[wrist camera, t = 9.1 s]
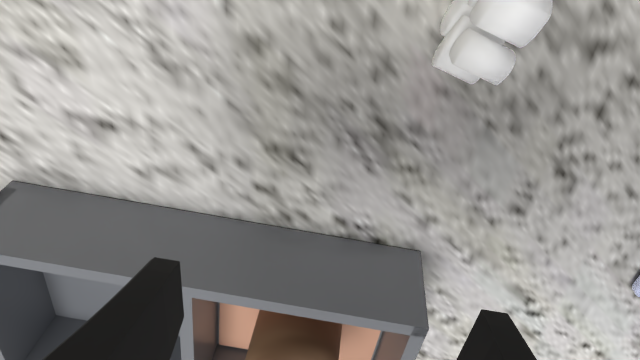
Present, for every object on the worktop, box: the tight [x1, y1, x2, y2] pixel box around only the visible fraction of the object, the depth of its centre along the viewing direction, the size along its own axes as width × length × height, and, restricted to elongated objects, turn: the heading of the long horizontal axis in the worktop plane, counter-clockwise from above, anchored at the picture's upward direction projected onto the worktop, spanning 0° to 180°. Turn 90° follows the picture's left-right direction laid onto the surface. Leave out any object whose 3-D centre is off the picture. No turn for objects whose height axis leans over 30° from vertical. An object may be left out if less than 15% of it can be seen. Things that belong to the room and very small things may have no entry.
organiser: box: [0, 181, 429, 360], centre depth 23 cm, size 20×10×4 cm, turn 82°
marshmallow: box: [432, 0, 552, 85], centre depth 14 cm, size 5×1×4 cm, turn 156°
